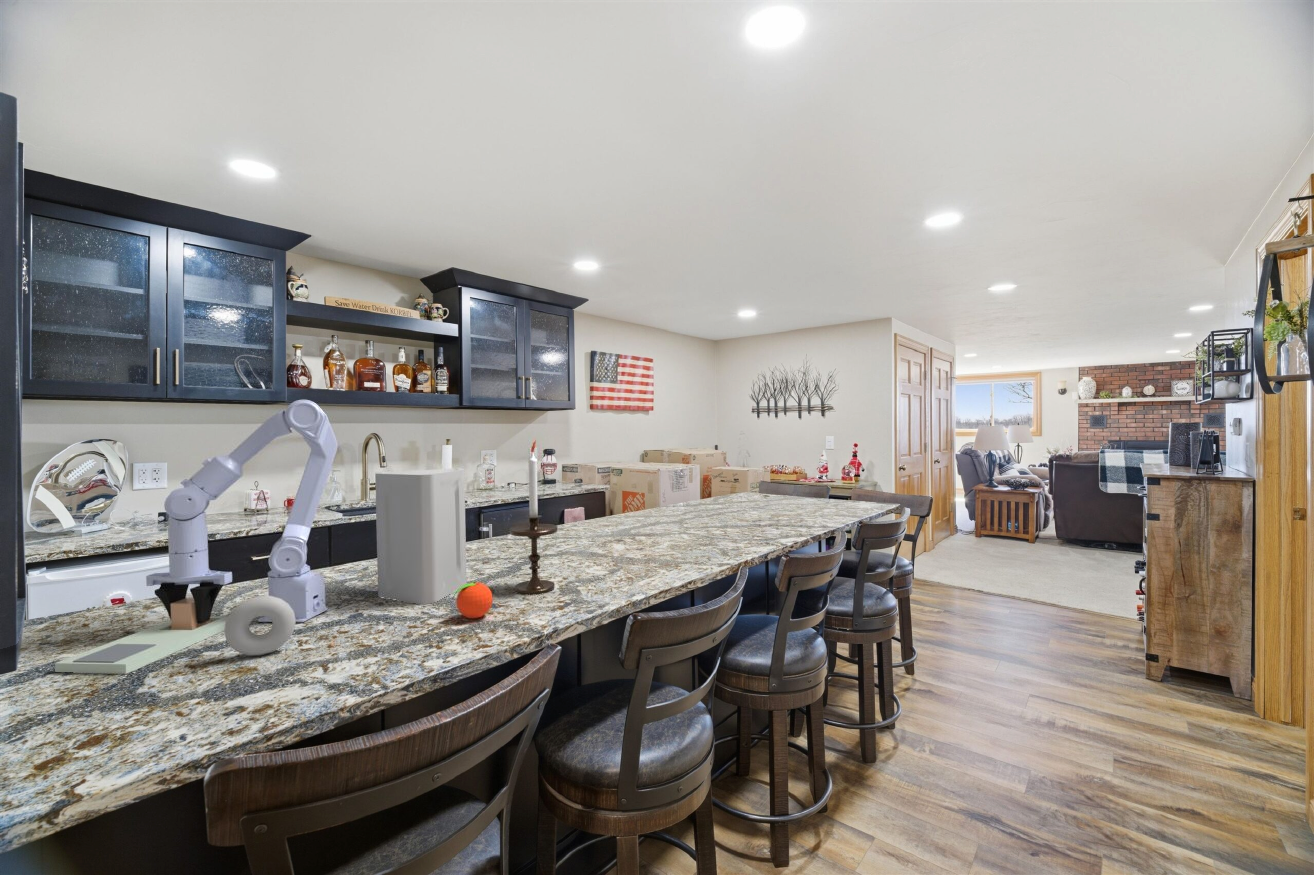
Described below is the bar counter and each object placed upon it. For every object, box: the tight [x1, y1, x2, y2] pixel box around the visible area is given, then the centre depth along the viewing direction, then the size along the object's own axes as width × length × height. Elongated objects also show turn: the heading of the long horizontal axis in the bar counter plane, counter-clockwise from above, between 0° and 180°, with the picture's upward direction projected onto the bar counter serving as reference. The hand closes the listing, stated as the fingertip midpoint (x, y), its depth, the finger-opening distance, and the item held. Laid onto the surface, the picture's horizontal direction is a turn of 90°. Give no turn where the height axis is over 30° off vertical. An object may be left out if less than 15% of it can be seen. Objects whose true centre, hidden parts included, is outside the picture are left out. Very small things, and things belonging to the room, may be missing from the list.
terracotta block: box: [170, 596, 210, 630], centre depth 107 cm, size 4×4×6 cm
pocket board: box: [54, 616, 228, 675], centre depth 100 cm, size 12×22×2 cm, turn 176°
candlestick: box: [509, 439, 559, 596], centre depth 132 cm, size 11×11×35 cm
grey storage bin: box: [374, 467, 468, 605], centre depth 129 cm, size 19×15×28 cm
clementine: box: [451, 581, 494, 619], centre depth 113 cm, size 8×7×7 cm
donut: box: [223, 595, 297, 657], centre depth 96 cm, size 10×4×10 cm, turn 118°
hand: (191, 622), depth 107 cm, fingers closed on terracotta block, 4 cm apart
